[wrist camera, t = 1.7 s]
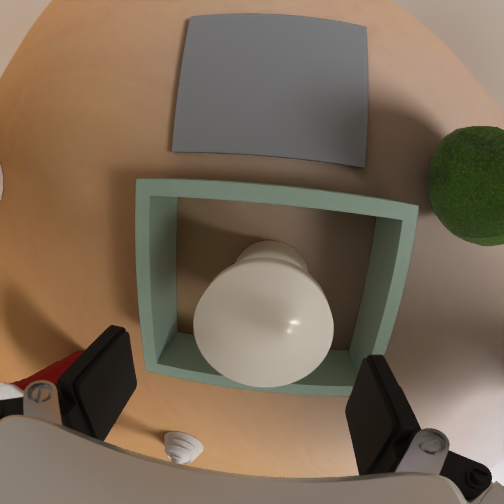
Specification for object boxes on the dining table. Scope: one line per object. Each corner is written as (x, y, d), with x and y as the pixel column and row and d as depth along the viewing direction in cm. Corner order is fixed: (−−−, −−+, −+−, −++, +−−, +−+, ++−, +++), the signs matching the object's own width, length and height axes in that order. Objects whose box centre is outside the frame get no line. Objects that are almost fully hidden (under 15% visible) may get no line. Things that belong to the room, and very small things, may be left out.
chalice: (148, 422, 28) (87, 539, 11) (201, 427, 27) (154, 564, 10) (168, 457, 30) (125, 561, 12) (216, 461, 29) (185, 578, 12)
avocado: (492, 191, 18) (591, 210, 7) (441, 249, 20) (538, 305, 8) (446, 115, 17) (547, 86, 6) (388, 172, 19) (489, 171, 8)
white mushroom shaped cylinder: (321, 237, 21) (346, 274, 13) (308, 322, 23) (318, 391, 14) (227, 228, 22) (193, 258, 13) (223, 312, 23) (194, 377, 15)
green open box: (390, 199, 20) (419, 205, 15) (356, 359, 23) (369, 395, 18) (166, 177, 21) (136, 179, 16) (167, 339, 25) (145, 370, 20)
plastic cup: (117, 337, 25) (46, 413, 14) (139, 413, 28) (97, 488, 16) (45, 322, 26) (-22, 372, 15) (71, 393, 29) (23, 448, 17)
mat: (364, 29, 16) (366, 26, 16) (362, 167, 19) (364, 167, 19) (192, 19, 17) (190, 16, 17) (174, 152, 20) (171, 151, 20)
